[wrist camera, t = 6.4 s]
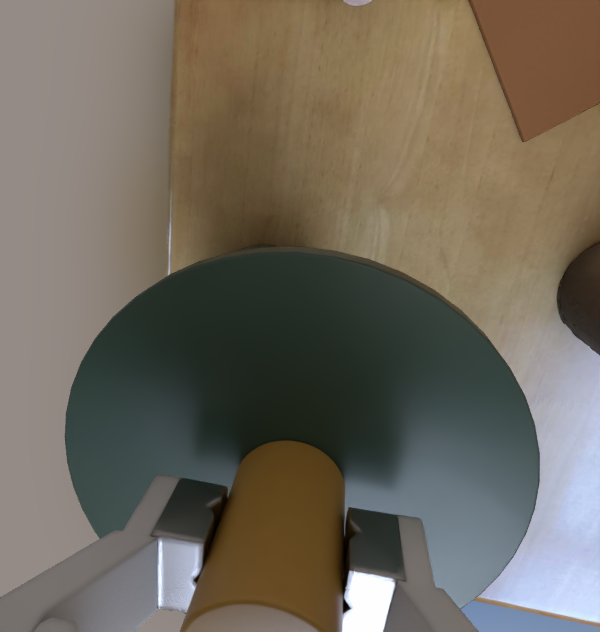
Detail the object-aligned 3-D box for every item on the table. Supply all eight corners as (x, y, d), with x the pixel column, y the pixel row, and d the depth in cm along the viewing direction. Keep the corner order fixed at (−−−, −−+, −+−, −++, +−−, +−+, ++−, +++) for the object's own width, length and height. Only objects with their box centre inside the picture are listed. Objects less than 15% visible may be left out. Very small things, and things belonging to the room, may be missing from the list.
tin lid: (69, 541, 14) (-82, 751, 9) (123, 174, 10) (-94, 197, 5) (418, 652, 14) (454, 920, 9) (612, 330, 10) (860, 503, 5)
